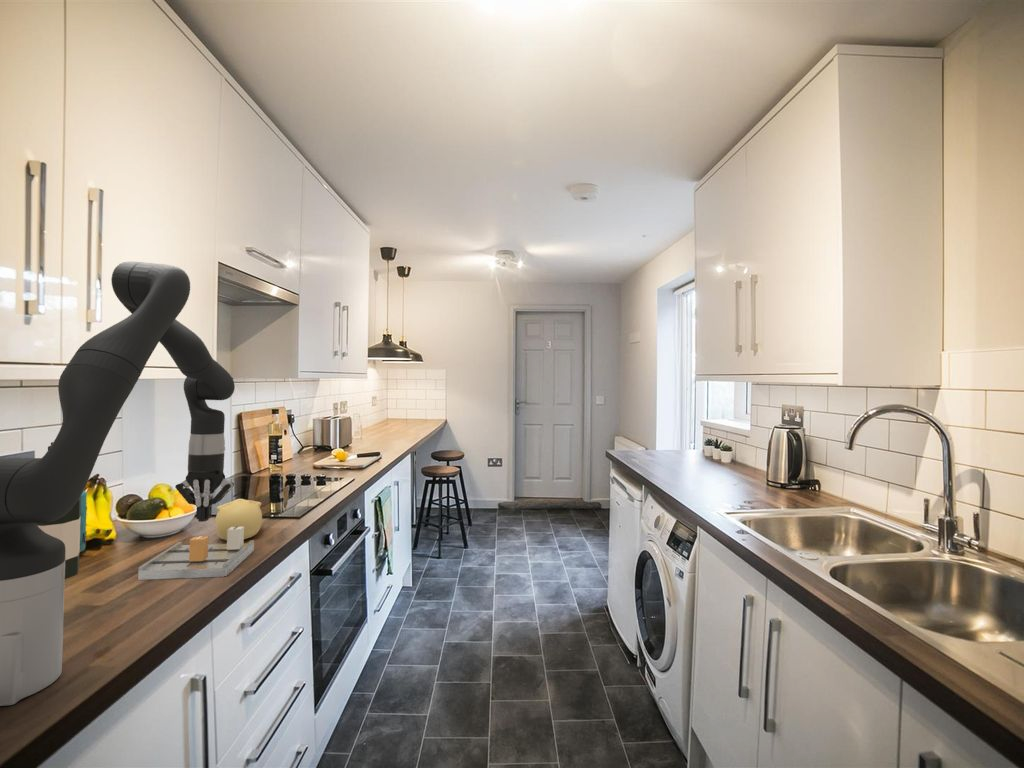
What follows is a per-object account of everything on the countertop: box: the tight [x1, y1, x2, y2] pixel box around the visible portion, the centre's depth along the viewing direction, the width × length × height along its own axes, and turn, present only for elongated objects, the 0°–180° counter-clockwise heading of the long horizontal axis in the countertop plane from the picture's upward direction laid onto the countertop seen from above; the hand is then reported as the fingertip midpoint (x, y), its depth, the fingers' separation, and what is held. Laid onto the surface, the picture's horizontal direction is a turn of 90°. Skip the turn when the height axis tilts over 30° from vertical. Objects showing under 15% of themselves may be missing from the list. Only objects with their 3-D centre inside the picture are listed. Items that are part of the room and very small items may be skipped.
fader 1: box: [189, 535, 209, 561], centre depth 107 cm, size 2×3×5 cm
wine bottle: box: [36, 441, 81, 580], centre depth 101 cm, size 8×8×30 cm
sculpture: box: [214, 498, 263, 541], centre depth 129 cm, size 12×12×11 cm
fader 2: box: [226, 526, 245, 550], centre depth 114 cm, size 2×3×5 cm
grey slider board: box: [137, 539, 255, 581], centre depth 110 cm, size 16×18×3 cm
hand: (203, 520), depth 113 cm, fingers closed
